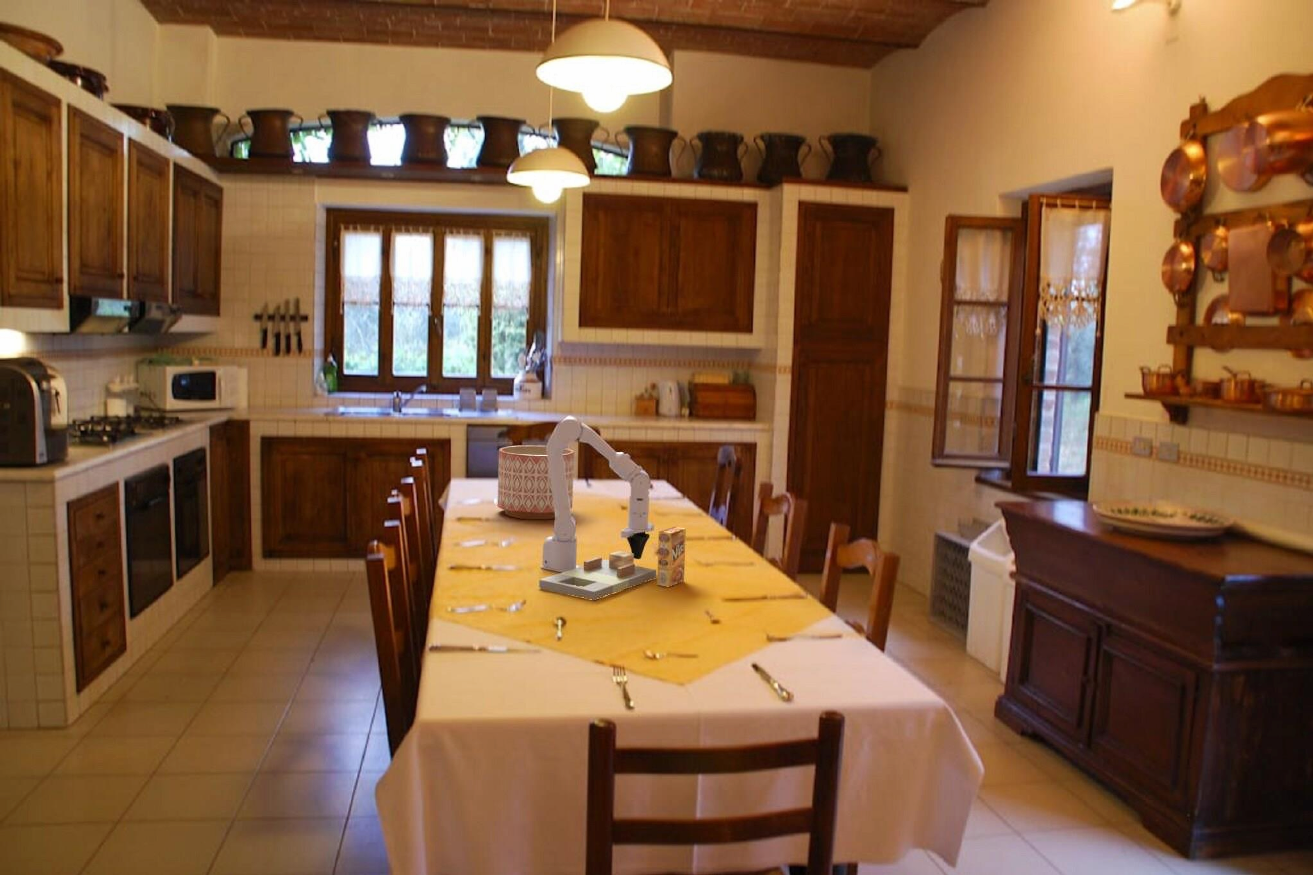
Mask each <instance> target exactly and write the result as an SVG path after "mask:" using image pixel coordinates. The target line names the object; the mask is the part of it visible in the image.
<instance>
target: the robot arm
mask: <svg viewBox="0 0 1313 875" xmlns="http://www.w3.org/2000/svg"><path fill="white" fill-rule="evenodd" d="M576 440H578V442H579V443H585V444H589V445H590V446H591V447H593V448H594V449H595V450H596V451H597V452H598V453H600V454H601V455H602V456H603V457H604V458H606V459H607V460H608V463H609V464H608V465H609V468H610V469H611V470H612V471H613V472H614V473H615V474H617V476H619V477H620V478H621V479H622V480H623V481H624V482H628V483H629V486H630V495H629V497H628V498H629V502H628V503H629V504H628V521H627V522H628V524H627V527H625V529H622V530H620V538H624V539H626V540H627V542H628V545H629V548H630V550H631V552H630V553H633V554H634V560H640V559H641V558H642V556H643V553H644V549H645V546H646V544H647V542H648V540H649V539H650V533H649V532H653V531H655V524H654V523H651V522H649V515H650V513H649V511H650V496H649V495H650V488H651V487H652V482H651V478H650V476H649V474H648V473H647V472H646V470H645V469H643V467H642V466H641V465H639V466H638V464H636V463H635V462H634V461H633V460H632V459H631V455H629V453H626V454H625V453H624V452H623V451H622V452H617V451H616V450H614V449H613V447H612V446H610V445H609V444H608V443H607V442H606V441H605V440H604V439H603V438H602V437H601V436H600V435H599V434H598V433H597V432H596V431H595V430H594V429H593V428H591V427H589V425H587V424H586V423H584V421H583V422H581V421H580V419H579V418H578V417H576V416H574V415H567V416H565V417H564V418H562V419H561V420H560V421H559V422H558V423H557V424H556V426H555V428H554V430H553V431H552V434H551V435H550V438H549V439H548V442H547V444H546V445H545V446H546V452H547V459H548V466H549V473H550V480H551V487H552V495H553V502H554V510H555V518H554V525H553V535H551V536H548V537H547V538H546V539H545V540H544V542H543V544H542V565H540V569H544V570H549V571H552V572H558V573H563V572H566V571H569V570H572V569H576V568H579V567H582V566H580V565H577V550H578V548H577V546H578V536H576V535H575V534H576V531H577V528H576V527H577V526H576V525H577V521H576V519H575V517H574V515H573V513H572V508H570V502H569V495H568V488H567V480H566V473H565V466H564V459H563V451H564V449H565V448H568V446H569V445H570V444H571V443H572V442H574V441H576Z"/></svg>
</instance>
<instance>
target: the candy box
mask: <svg viewBox="0 0 1313 875" xmlns="http://www.w3.org/2000/svg"><path fill="white" fill-rule="evenodd" d="M686 531H687V528H686V527H678V526H672V527H670V528H667V529H664V530H661V531H658V542H657V543H658V546H657V549H658V550H657V573H656V582H657V583H656V585H663V586H671V587H673V586H672V585H674V586H676V585H677V584H676V583H679V584H681V583H682V582H681V581H684V582H685V564H686V561H685V558H686V534H687V532H686ZM680 582H681V583H680ZM675 584H676V585H675ZM663 586H662V587H663Z"/></svg>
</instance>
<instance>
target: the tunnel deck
mask: <svg viewBox="0 0 1313 875" xmlns="http://www.w3.org/2000/svg"><path fill="white" fill-rule="evenodd" d="M654 578H656V579H657V569H654V568H648V567H643V566H638V565H636V564H635V563H634V564H632V563H631V564H628V565H625V566H622V567H619V568H617V569H613V568H609V559H603V558H602V557H600V556H597V557H593V558H591V559H588V560H584V561H583V566H581V567H579V568H576V569H572V570H569V571H566V572H563V573H562V572H558V573H556V574H553V575H550V576H547V577H544V578H541V579H539V585H538V587H539V588H541V589H540V590H542V589H544V590H543V591H547V590H550V591H549V592H551V591H552V593H555V592H558V593H557V594H560V593H562V594H561V595H564V594H569V595H574V596H578V597H584V598H587V599H592V600H595V599H597V598H600V597H603V596H605V595H608V594H612V593H614V592H618V591H620V590H623V591H625V590H624V589H626V588H629V587H631V586H634V585H637V586H639V585H638V584H640V583H642V584H644V583H643V582H645V581H648V580H650V579H653V580H655V579H654ZM648 582H649V581H648ZM645 583H646V582H645ZM574 585H576V586H574ZM640 585H641V584H640ZM579 586H583V587H579ZM634 587H635V586H634ZM539 588H538V589H539ZM631 588H632V587H631ZM629 589H630V588H629ZM626 590H627V589H626ZM620 592H621V591H620ZM618 593H619V592H618ZM569 595H568V596H569ZM612 595H613V594H612Z"/></svg>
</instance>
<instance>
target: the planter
mask: <svg viewBox="0 0 1313 875" xmlns="http://www.w3.org/2000/svg"><path fill="white" fill-rule="evenodd" d="M546 446H547V445H530V444H529V445H511V446H505V447H500V448H499V449H498V470H497V472H498V476H497V477H498V478H497V480H498V482H497V507H498V508H499V509H501V510H504V513H505V515H506V516H508V515H509V517H511V518H516V519H522V520H523V519H524V520H549V519H550V520H551V519H555V510H554V502H553V495H552V487H551V480H550V473H549V466H548V459H547V452H546ZM563 459H564V466H565V473H566V480H567V488H568V495H569V502H570V508H571V509H572V508H573V497H574V496H573V495H574V490H573V489H574V468H575V467H574V464H575V451H574V450H572V449H571V448H568V447H566V448H565V449H564V451H563Z"/></svg>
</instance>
